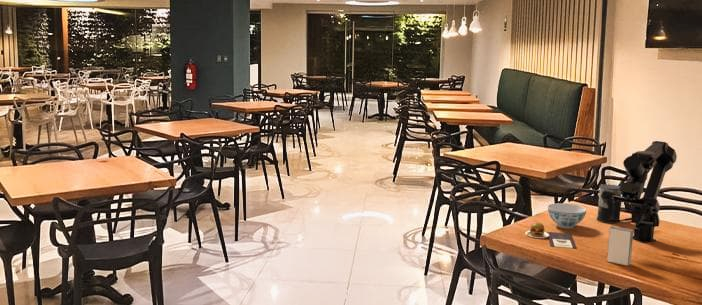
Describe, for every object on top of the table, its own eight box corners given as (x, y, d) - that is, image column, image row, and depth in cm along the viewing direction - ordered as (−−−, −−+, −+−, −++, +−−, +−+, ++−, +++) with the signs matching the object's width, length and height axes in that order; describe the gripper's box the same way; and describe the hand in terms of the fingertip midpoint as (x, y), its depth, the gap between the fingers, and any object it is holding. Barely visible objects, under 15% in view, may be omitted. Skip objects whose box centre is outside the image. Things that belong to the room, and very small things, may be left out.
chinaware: (580, 233, 250) (582, 214, 248) (541, 227, 257) (543, 209, 256) (588, 224, 262) (590, 206, 261) (551, 219, 270) (552, 201, 269)
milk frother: (591, 218, 273) (594, 184, 270) (623, 216, 277) (626, 182, 274) (613, 227, 259) (616, 192, 257) (646, 225, 263) (649, 190, 261)
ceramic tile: (608, 259, 220) (611, 226, 218) (630, 264, 216) (633, 229, 214) (606, 261, 218) (609, 227, 216) (628, 266, 214) (631, 231, 212)
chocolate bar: (571, 233, 249) (576, 247, 232) (570, 235, 249) (576, 250, 232) (547, 231, 251) (550, 245, 234) (546, 234, 251) (550, 248, 234)
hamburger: (549, 243, 239) (550, 229, 238) (517, 238, 245) (518, 224, 244) (556, 235, 249) (557, 221, 248) (525, 230, 255) (526, 217, 254)
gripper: (603, 168, 229) (590, 206, 224) (659, 176, 216) (646, 216, 211) (611, 183, 236) (598, 220, 231) (665, 192, 224) (652, 231, 219)
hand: (622, 222), depth 223 cm, fingers open, 9 cm apart
